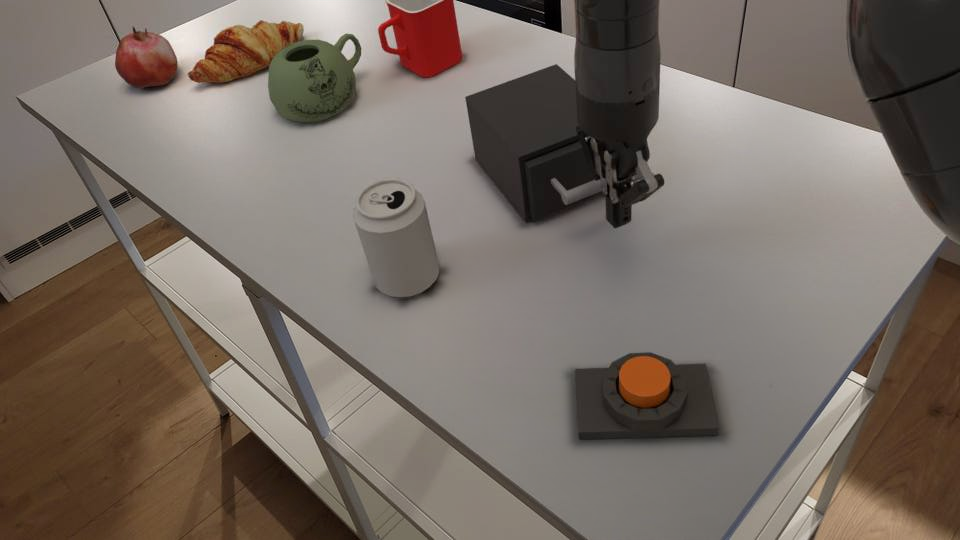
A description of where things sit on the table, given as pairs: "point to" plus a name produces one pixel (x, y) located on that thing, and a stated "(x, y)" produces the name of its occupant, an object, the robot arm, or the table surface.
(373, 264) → the can
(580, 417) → the control block
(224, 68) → the croissant
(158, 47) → the fruit
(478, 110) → the black drawer cabinet
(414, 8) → the mug
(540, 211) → the small dark drawer
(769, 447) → the table surface
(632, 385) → the button
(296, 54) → the mug
